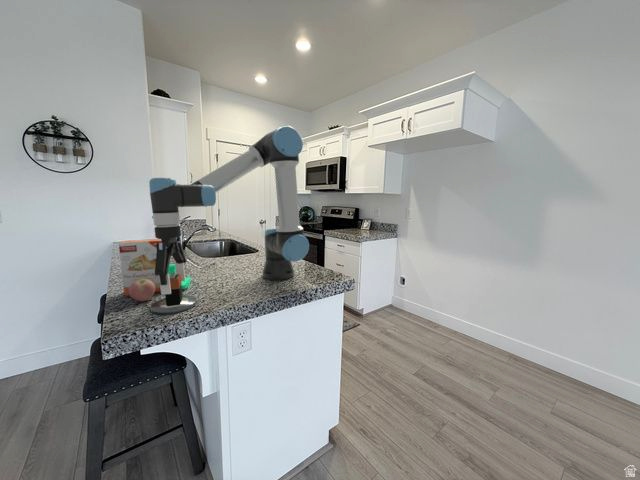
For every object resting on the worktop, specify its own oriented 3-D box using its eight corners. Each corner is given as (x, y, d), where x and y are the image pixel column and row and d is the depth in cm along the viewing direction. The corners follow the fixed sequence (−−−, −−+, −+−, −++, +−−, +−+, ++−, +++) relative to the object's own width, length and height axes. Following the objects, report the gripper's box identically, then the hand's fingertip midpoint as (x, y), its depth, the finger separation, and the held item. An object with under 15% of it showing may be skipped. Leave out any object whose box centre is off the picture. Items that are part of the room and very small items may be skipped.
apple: (126, 305, 92) (123, 283, 91) (135, 297, 99) (133, 277, 98) (151, 303, 94) (149, 282, 92) (159, 296, 101) (157, 275, 100)
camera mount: (185, 291, 106) (183, 266, 105) (164, 293, 104) (162, 268, 103) (191, 282, 118) (189, 260, 116) (172, 284, 116) (170, 261, 114)
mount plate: (201, 297, 100) (201, 294, 99) (189, 312, 86) (189, 309, 86) (161, 299, 97) (161, 296, 97) (142, 315, 84) (142, 312, 83)
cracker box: (124, 297, 100) (117, 242, 97) (127, 292, 105) (121, 240, 102) (166, 291, 106) (161, 240, 103) (167, 287, 111) (163, 238, 108)
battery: (166, 306, 88) (163, 277, 86) (169, 299, 94) (166, 272, 92) (180, 304, 89) (178, 276, 88) (183, 297, 95) (180, 271, 94)
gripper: (170, 222, 99) (176, 276, 102) (135, 230, 75) (144, 301, 78) (191, 221, 100) (196, 275, 104) (164, 229, 76) (172, 299, 79)
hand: (174, 287), depth 91 cm, fingers open, 13 cm apart
